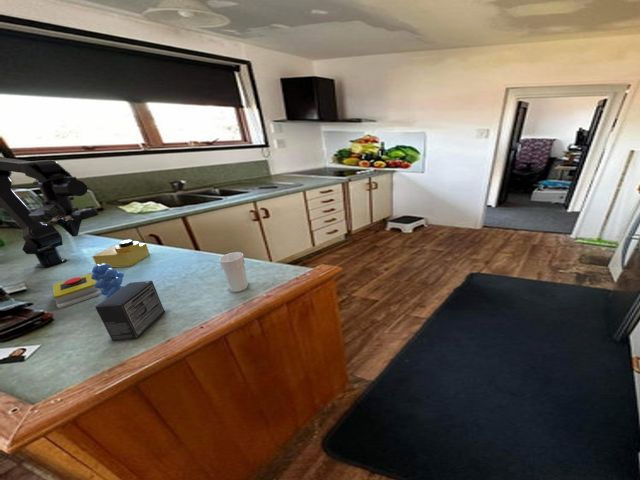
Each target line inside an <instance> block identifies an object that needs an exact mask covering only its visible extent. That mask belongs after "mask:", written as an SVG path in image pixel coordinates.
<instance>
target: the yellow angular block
mask: <svg viewBox="0 0 640 480" xmlns="http://www.w3.org/2000/svg"><path fill="white" fill-rule="evenodd" d="M132 241H133V243H134V244H133V245H130V246H127V247H120V245H119V244H115V245H112V246H110V247H108V248H106V249H104V250H102V251H101V252H100V251H99V252H98V253H96V254H94V255H92V259H93V260H94V263H95V265H100V264H108V265H111V268H123V267H133V266H134V265H135V264H137V263H139V262H140V261H142V260H143V259H145V258H146V257H148V256H151V253H150V250H149V248H148V245H147V243H144V242H143V243H140V242H139V241H137V240H132Z"/></svg>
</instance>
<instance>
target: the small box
mask: <svg viewBox="0 0 640 480" xmlns="http://www.w3.org/2000/svg"><path fill="white" fill-rule="evenodd" d="M94 309H95V310H96V311H97V314H98V315H99V318H100V319H101V322H102V323H103V326H104V327H105V329H106V331H107V333H108V335H109V337H110V340H111V341H113V342H116V341H127V340H128V341H129V340H138V339H139V338H140V337H141V336H142V335H143V334H144V333H145V332H146V331H147V330H148V329H149V328H151V326H153V325H154V323H155V322H157V320H158V319H160V317H162V316H163V315H164V314H165V313H166V310H165V308H164V306H163V304H162V301H161V298H160V297H159V294H158V292H157V288H156V287H155V284H154V282H153V280H145V281H135V282H133V281H132V282H129V283H127V284H126V285H123V288H121V289H120V290H118V291H117V292H116V293H114V294H113V295H111V296H110V297H107V298H105V299H103V300H102V301H101V302H99V303H98V304H96V305H95V306H94Z"/></svg>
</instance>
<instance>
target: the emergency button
mask: <svg viewBox="0 0 640 480" xmlns="http://www.w3.org/2000/svg"><path fill="white" fill-rule="evenodd" d="M92 274H93V273H87V274H84V275H81V276H80V275H79V276H77V277H76V276H75V277H72V278H70V279H67V280H63V281H60V282H57V283H55V284H53V285H52V287H53V298H54V300H55V302H56V307H57V309H63V308H66V307H68V306H72V305H74V304H77V303H80V302H83V301H86V300H89V299H92V298H95V297H97V296H100V295H102V294H101V289H99V288H96V287H95V284H96V282H97V281H98V280H94V279H91V276H92Z"/></svg>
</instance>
